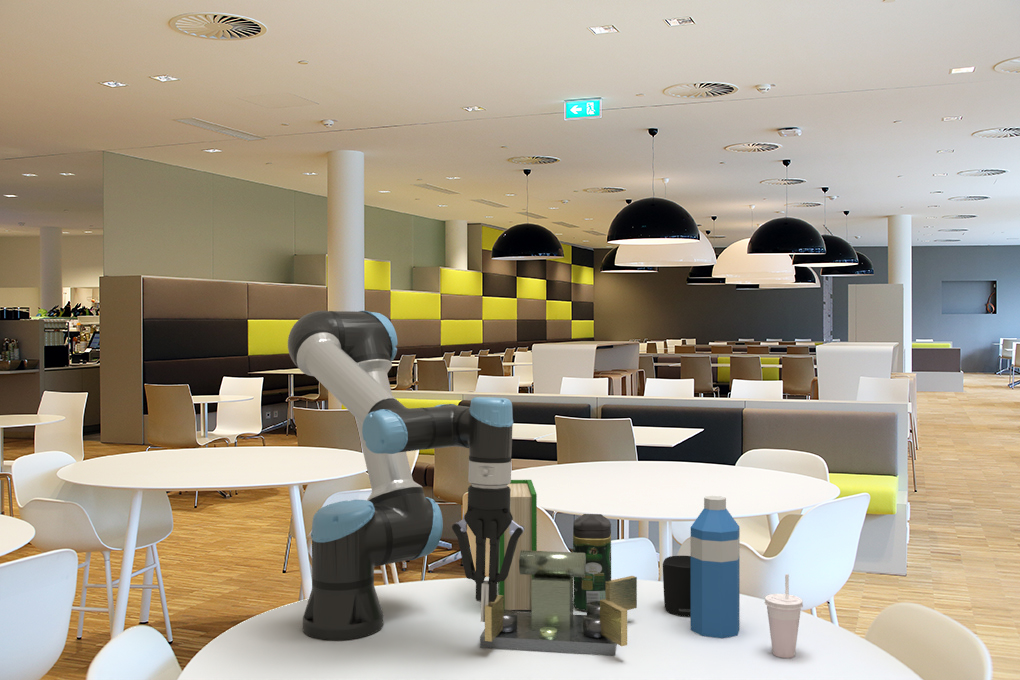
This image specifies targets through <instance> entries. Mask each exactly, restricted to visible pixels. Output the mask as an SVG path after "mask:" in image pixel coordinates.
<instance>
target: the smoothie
mask: <svg viewBox="0 0 1020 680" xmlns="http://www.w3.org/2000/svg"><path fill="white" fill-rule="evenodd" d="M784 576H785V577H784V578H785V581H784V582H785V583H784V586H785V590H784V593H771V594H768V595H766V596H765V597H764V604H765V605H766V609H767V617H768V624H769V633H770V635H769V636H770V641H771V651H772V655H774V656H775V657H777V658H783V659H791V658H794V657H795V656H796V649H797V643H798V642H797V641H798V633H799V625H800V618H801V611H802V608H803V607H804V603H803V599H802V598H800V597H799V596H796V595H792V594H789V593H790V592H789V588H790V587H789V586H790V585H789V583H790V582H789V581H790V578H789V577H790V576H789V573H785V574H784Z"/></svg>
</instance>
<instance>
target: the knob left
mask: <svg viewBox="0 0 1020 680" xmlns="http://www.w3.org/2000/svg"><path fill="white" fill-rule="evenodd" d="M515 611H516V610H504V595H498V594H497V598H496V600H495V601H494V602H489V604H488V605H486V606H485V622H484V629H485V641H491V642H492V641H493V639H494V638H495V637H496V636H497V635H498V634H499V633H500V632H511V631H514V630H516V629H517V612H518V611H517V612H515Z"/></svg>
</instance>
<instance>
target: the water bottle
mask: <svg viewBox="0 0 1020 680" xmlns="http://www.w3.org/2000/svg"><path fill="white" fill-rule="evenodd" d="M740 532H741V530H740V525H739V523H738V522H737V521H736V520H735V519H734V517H733V516H732V514H731V513H730V511H729V510H728V509H727V497H724V496H720V495H708V496H706V495H705V497H704V498H703V509H702V511H701V512H700V513H699V515H698V516H697V517H696V518H695V520H694V522H693V523H692V524H691V526H690V556H691V617H690V631H692V632H694V633H695V634H698V635H699V636H701V637H707V638H716V639H725V638H731V637H736V636H738V635H739V632H740V629H741V628H740V623H741V622H740V620H741V619H740V617H741V616H740V610H741V609H740V608H741V607H740V594H741V593H740V582H741V581H740V576H741V575H740V562H741V561H740V553H741V551H740V548H741V546H740V545H741V544H740V542H741V541H740Z"/></svg>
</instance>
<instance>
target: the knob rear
mask: <svg viewBox="0 0 1020 680" xmlns="http://www.w3.org/2000/svg"><path fill="white" fill-rule="evenodd" d="M637 580H638V577H637V576H635V575H630V576H626V577H625V576H624V577H621V578H615V579H611V580H610V581H606V600H608V601H610V602H612V603H614V604H616V605H618V606H620V607H622V608H624V609H626V610H627V611H629V610H634V609H637V608H638V605H637V602H638V597H637V595H638V593H637V592H638V589H637V588H638V581H637ZM585 613H586V614H585V615H586V616H587V615H592V614H600V601H593V602H589V603H587V604H586V612H585Z"/></svg>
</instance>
